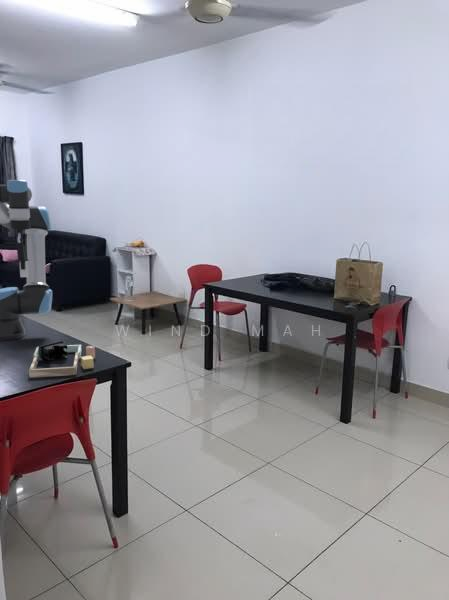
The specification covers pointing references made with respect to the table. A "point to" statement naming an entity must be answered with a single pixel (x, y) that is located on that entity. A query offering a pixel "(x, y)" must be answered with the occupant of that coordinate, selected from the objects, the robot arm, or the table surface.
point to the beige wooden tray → (52, 369)
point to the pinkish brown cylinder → (90, 351)
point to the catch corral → (70, 349)
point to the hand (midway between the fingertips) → (24, 276)
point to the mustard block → (87, 362)
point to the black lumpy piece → (53, 352)
